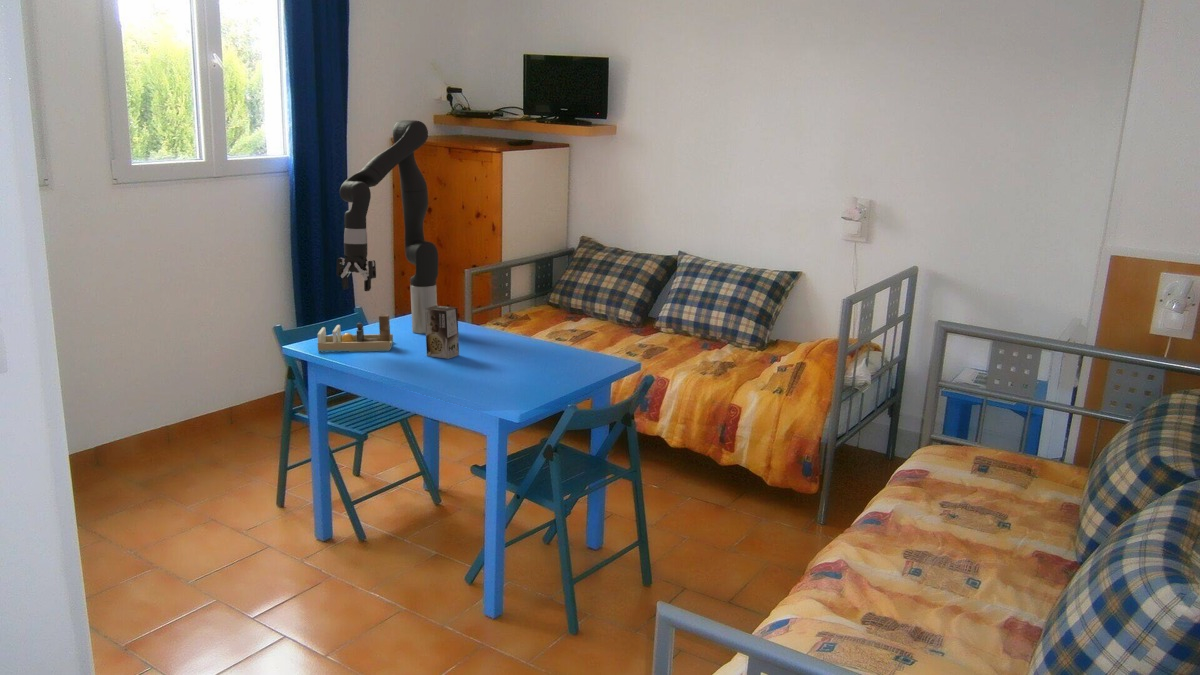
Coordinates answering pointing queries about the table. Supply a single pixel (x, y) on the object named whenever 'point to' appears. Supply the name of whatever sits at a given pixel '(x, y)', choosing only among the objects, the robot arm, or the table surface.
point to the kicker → (383, 326)
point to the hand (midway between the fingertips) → (356, 290)
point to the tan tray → (356, 344)
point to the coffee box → (442, 331)
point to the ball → (347, 337)
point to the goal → (322, 335)
